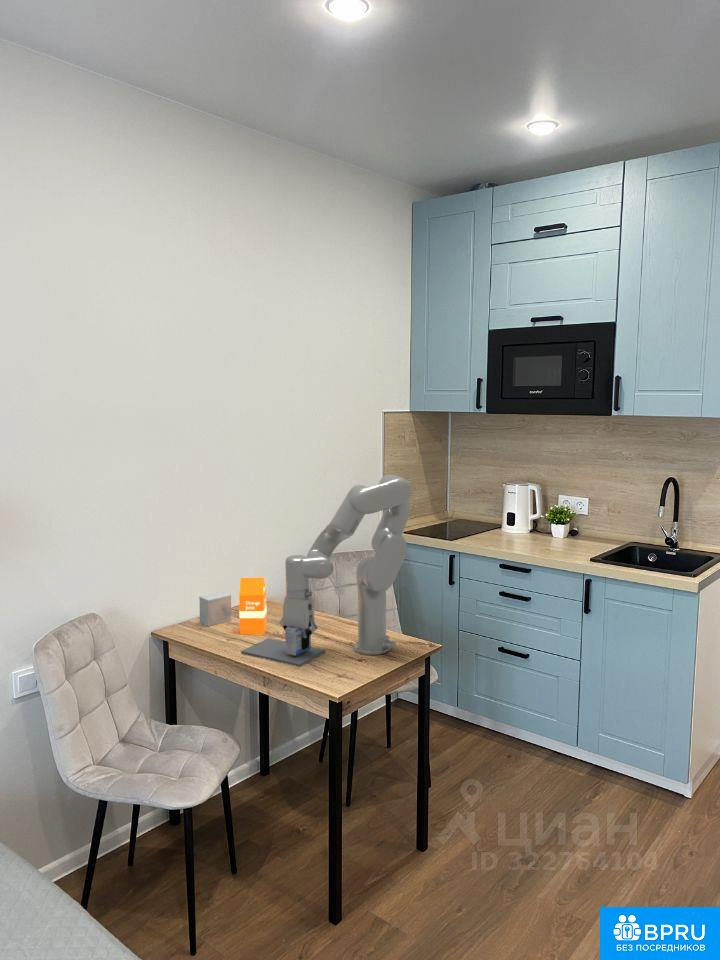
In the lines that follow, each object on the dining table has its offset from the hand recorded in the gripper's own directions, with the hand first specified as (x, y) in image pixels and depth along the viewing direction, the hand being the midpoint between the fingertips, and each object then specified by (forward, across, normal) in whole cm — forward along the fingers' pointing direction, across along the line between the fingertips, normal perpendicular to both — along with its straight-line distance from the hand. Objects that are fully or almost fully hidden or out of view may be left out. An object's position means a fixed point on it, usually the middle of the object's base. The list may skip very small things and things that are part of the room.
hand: (298, 646), depth 238 cm
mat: (+3, +6, 0) cm, 7 cm away
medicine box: (+2, 0, 0) cm, 2 cm away
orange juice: (+3, +29, -13) cm, 32 cm away
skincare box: (+3, +48, -14) cm, 50 cm away
